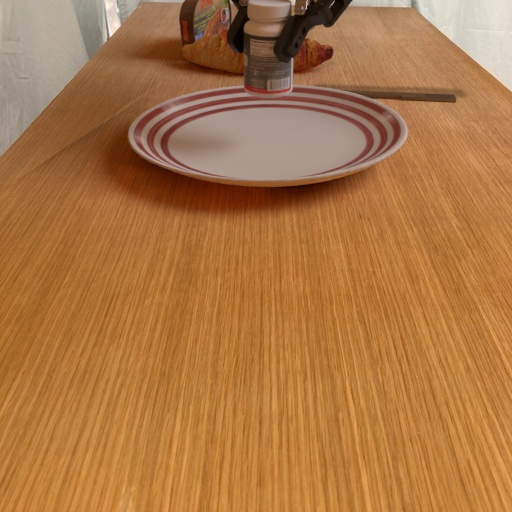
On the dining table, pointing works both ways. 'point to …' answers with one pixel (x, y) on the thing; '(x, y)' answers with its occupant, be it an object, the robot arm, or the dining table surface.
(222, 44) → the croissant
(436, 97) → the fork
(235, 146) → the dinner plate
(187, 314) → the dining table surface
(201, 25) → the tin
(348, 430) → the dining table surface
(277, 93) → the pill bottle
